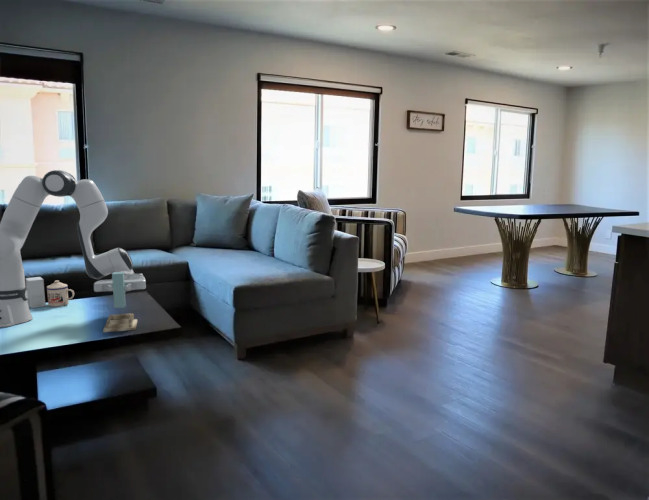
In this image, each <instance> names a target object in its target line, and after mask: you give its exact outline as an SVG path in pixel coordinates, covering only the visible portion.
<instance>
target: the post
mask: <svg viewBox="0 0 649 500" xmlns="http://www.w3.org/2000/svg"><path fill="white" fill-rule="evenodd" d="M111 279H112V281H113V291H112V292H113V293H112V295H113V308H114V309H117V308H118V309H120V308H121V309H123V308H125V307H126V305H127V304H126V292H125V291H124V286H125V284H124V272H113V273H112V274H111Z"/></svg>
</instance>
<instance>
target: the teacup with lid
mask: <svg viewBox="0 0 649 500" xmlns="http://www.w3.org/2000/svg"><path fill="white" fill-rule="evenodd" d="M68 287H69V286H68V284H67V283H63V282H60V280H58V279H57V280H54V282H53V283H51V284H50V285H47V286H46V292H47V293H46V294H47V304H48V306H49V307H52V308H53V307H64V306H66V305H68V304H69V303H70V302H69V301H70V300H73V298H74V296H75V291H74V290H73V289H71V288H70V289H69V288H68ZM69 292H71V293H72V294H71V295H72V296H71V297H69Z"/></svg>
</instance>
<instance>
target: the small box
mask: <svg viewBox="0 0 649 500" xmlns="http://www.w3.org/2000/svg"><path fill="white" fill-rule="evenodd" d="M44 282H45V281H44V278H42V277H41V276H35V277H25V286H26V287H27V292H28V299H27V301H28V306H29V308H31V309H33V308H35V309H36V308H39V307H40V308H41V307H46V297H45V296H46V293H45V283H44Z"/></svg>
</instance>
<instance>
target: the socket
mask: <svg viewBox="0 0 649 500" xmlns="http://www.w3.org/2000/svg"><path fill="white" fill-rule="evenodd" d="M137 324H138V319H137V318H135V314H134V313H133V312H132V313H119V314H109V315H108V317H107V320H106V323H105V325H104V327H103V329H102V330H103V331H102V332H103V333H111V332H124V331H125V332H126V331H135V330H137V326H138V325H137Z"/></svg>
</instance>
